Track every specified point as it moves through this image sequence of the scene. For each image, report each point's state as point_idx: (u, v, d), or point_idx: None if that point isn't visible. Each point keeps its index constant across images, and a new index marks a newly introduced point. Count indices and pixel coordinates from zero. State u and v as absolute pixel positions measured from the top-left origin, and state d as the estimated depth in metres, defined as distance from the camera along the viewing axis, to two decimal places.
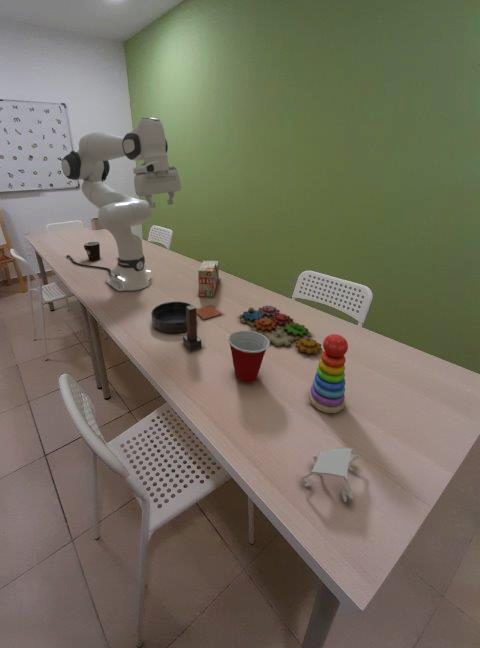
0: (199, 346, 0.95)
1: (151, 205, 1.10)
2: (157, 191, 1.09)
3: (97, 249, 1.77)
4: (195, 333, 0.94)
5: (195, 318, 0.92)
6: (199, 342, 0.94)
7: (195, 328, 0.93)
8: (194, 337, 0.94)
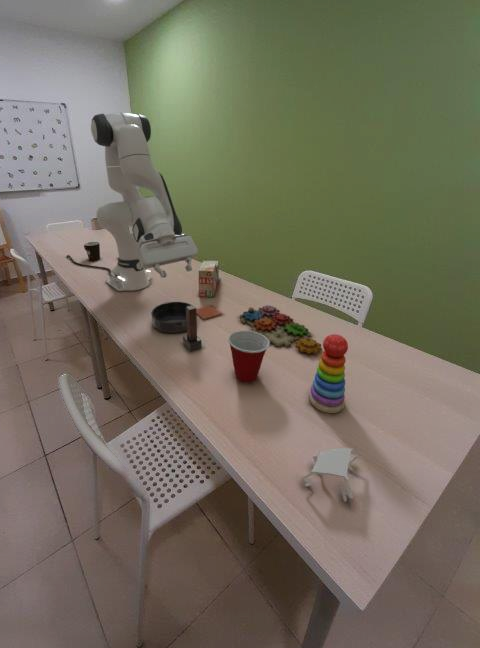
0: (199, 346, 0.95)
1: (161, 274, 0.96)
2: (164, 258, 0.97)
3: (97, 249, 1.77)
4: (195, 333, 0.94)
5: (195, 318, 0.92)
6: (199, 342, 0.94)
7: (195, 328, 0.93)
8: (194, 337, 0.94)
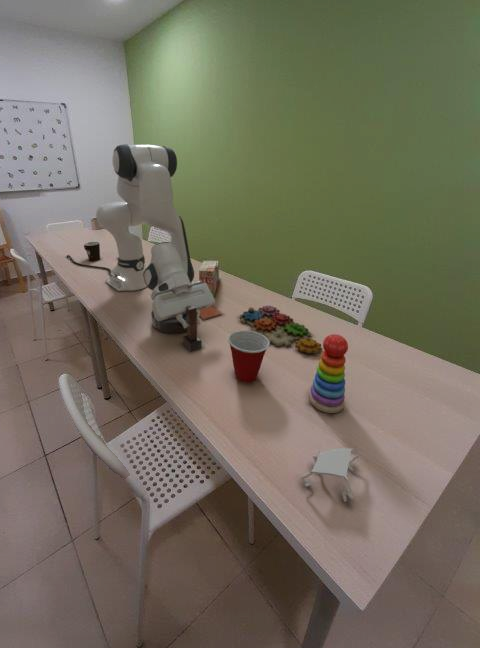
0: (199, 346, 0.95)
1: (184, 324, 0.92)
2: (179, 309, 0.92)
3: (97, 249, 1.77)
4: (195, 333, 0.94)
5: (195, 318, 0.92)
6: (199, 342, 0.94)
7: (195, 328, 0.93)
8: (194, 337, 0.94)
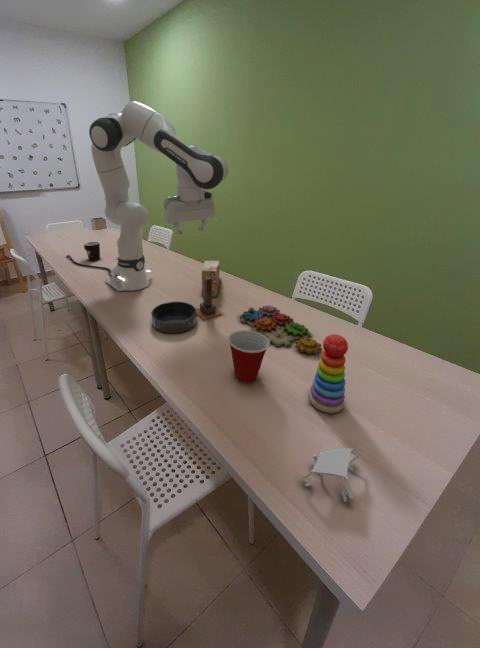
0: (214, 312, 1.14)
1: None
2: None
3: (97, 249, 1.77)
4: (210, 300, 1.13)
5: (211, 287, 1.11)
6: (214, 308, 1.13)
7: (210, 296, 1.12)
8: (209, 304, 1.13)
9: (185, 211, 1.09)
